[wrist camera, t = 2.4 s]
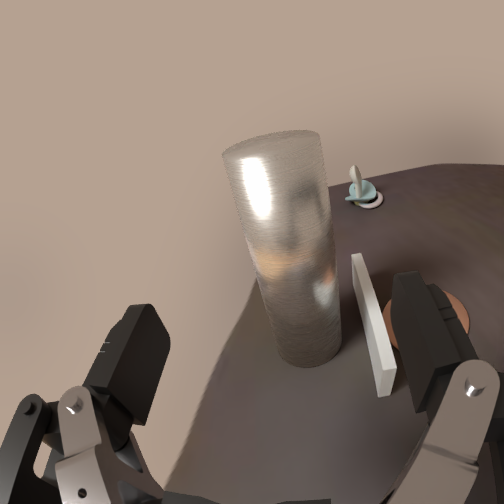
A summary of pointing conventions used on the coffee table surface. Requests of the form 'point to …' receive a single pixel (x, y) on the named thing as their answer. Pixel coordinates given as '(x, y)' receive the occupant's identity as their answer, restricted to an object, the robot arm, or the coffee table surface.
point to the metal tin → (290, 240)
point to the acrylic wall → (374, 328)
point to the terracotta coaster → (455, 304)
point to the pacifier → (362, 191)
